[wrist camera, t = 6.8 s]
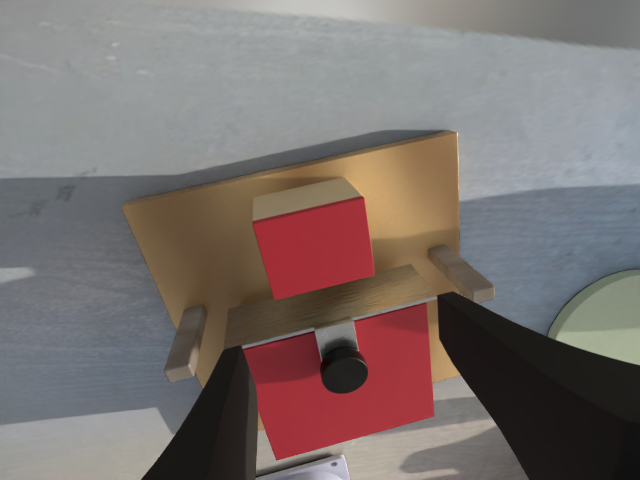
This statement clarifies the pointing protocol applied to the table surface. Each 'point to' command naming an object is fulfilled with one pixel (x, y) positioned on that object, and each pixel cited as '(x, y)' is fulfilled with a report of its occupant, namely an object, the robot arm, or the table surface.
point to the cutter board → (244, 254)
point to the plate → (604, 318)
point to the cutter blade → (329, 320)
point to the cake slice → (313, 237)
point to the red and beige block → (352, 408)
